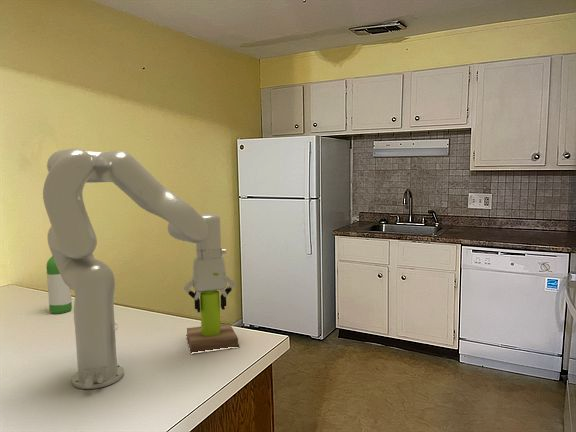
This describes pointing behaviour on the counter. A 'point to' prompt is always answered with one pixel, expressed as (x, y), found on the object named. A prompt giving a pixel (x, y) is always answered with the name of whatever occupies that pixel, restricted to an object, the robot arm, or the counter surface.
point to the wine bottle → (57, 290)
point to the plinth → (211, 339)
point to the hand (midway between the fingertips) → (210, 309)
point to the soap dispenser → (210, 312)
